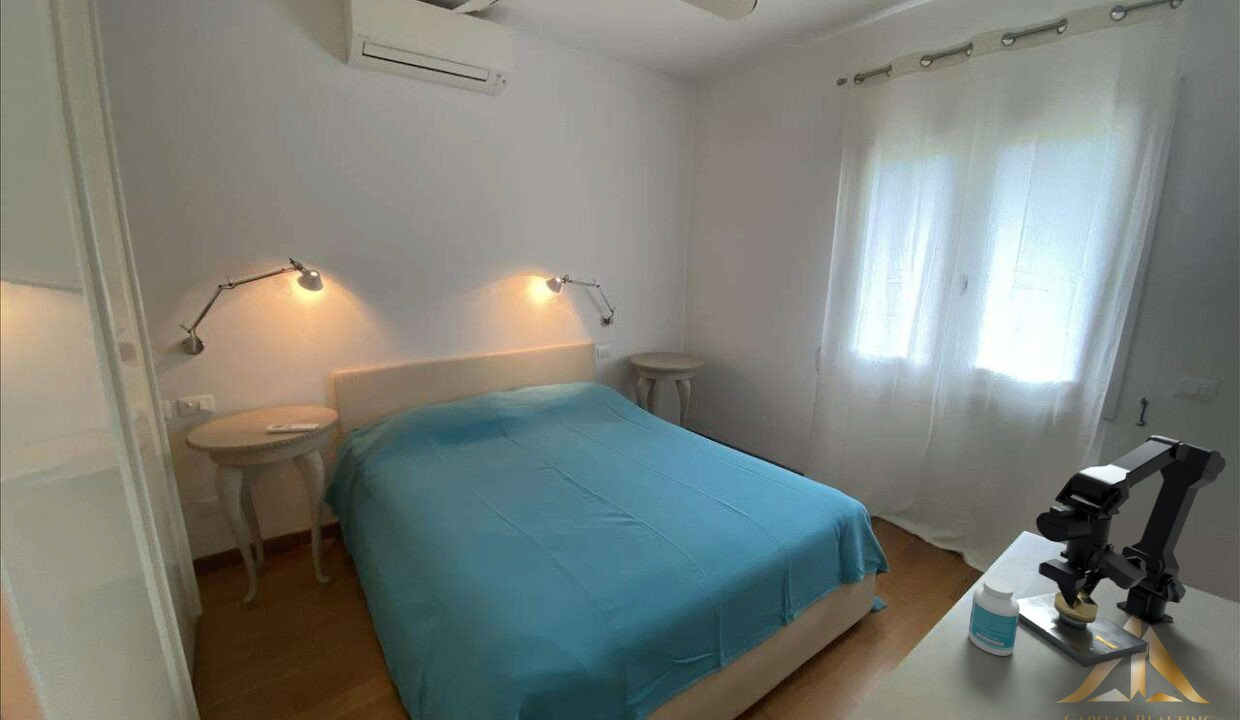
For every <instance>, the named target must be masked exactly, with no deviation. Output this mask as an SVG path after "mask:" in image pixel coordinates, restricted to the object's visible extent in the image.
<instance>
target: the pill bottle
mask: <svg viewBox="0 0 1240 720" xmlns="http://www.w3.org/2000/svg"><path fill="white" fill-rule="evenodd" d="M982 585H983V586H980V587H978V588H976V589H975V590H974V592H973V594H972V595H973V598H972V605H971V612H970V616H969V626H968V636H969V639H970V640H971V642H972V643H973V644H974V645H975V646H976V647H977V648H979V649H980V650H982V651H984V652H986V653H988V654H991V655H994V656H995V655H996V656H998V657H999V656H1001V657H1002V656H1003V657H1005V656H1009V655H1012V654H1013V652H1014V649H1015V644H1016V643H1015V642H1016V636H1017V630H1018V625H1019V624H1018V623H1019V621H1018V618H1019V611H1020V606H1019V604H1018V602H1017V601H1016V600H1017V599H1016V598H1015V597H1014V588H1013V587H1012V586H1011V585H1010V584H1008V583H1007V582H1005V581H1003V580H1000V579H996V578H992V577H991V578H985V579H984V581H983V584H982Z"/></svg>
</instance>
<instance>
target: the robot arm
mask: <svg viewBox="0 0 1240 720" xmlns="http://www.w3.org/2000/svg"><path fill="white" fill-rule="evenodd" d="M1226 463H1227V461H1226V459H1225V458H1224V457H1222V456H1221V453H1220V451H1218V450H1216V449H1212V448H1208V447H1205V446H1200V445H1197V444H1192V443H1189V442H1185V441H1182V440H1178V439H1174V438H1169V437H1166V436H1163V435H1150V436H1148V437H1147V439H1146V441H1145V442H1144V443H1143V444H1141V445H1139V446H1138V447H1136V448H1134V449H1133V450H1131V451H1129V452H1127V453H1126V454H1124V455H1122V456H1121V457H1119V458H1118V459H1116V460H1114V461H1112V462H1111V463H1109V464H1108V465H1104V466H1103V465H1102V466H1100V465H1099V466H1090V467H1088V468H1085V469H1082V470H1080V471H1078V472H1076V473H1075V474H1073V475H1072V476H1071V477H1070V478H1069V480H1068V481H1067V482H1066V483H1065V485H1064V487H1063V488H1062V489H1061V490H1060V491H1059V493H1058V494H1057V495H1056V497H1055V498H1054V501H1055V502H1057V503H1060V504H1062V505H1060V506H1058V505H1057V506H1056V505H1054V506H1050V507H1049V511H1045V512H1042V513H1040V514H1038V516H1037V517H1036V520H1035V525H1036V528H1037V530H1038V532H1039V533H1040V534H1041V536H1042V537H1044V538H1045V539H1047V540H1048V541H1050V542H1052V543H1061V542H1066V545H1065V547H1066V548H1065V550H1062V551H1060V552H1059V553H1060V554H1059V556H1060V557H1062V558H1064V559H1066V560H1067V561H1065V562H1064V561H1062V560H1060V559H1057V558H1052V559H1048V560H1046V561H1043V562H1041V563H1038V573H1039V575H1041V576H1043V577H1045V578H1047V579H1049V580H1051V581H1054V582H1056V584H1057V586H1058V587H1059V589H1060V590H1059V589H1058V590H1059V591H1061V593H1062V595H1063V597H1064V600H1065V602H1066V603H1067V604H1068V605H1070V606H1073V605H1074V603H1075V601H1076V599H1077V597H1078V594H1079V592H1080V589H1081V588H1082V589H1083V590H1084V591H1085V592H1086V593H1087V594H1088V595H1089V596H1090V597H1091V595H1092V593H1093V592H1094V590H1095V589H1096V588H1097V586H1098V584H1100V582H1101V580H1103V579H1109V580H1111V581H1112V582H1113V584H1115V585H1116V586H1117V587H1118V588H1120V589H1122V590H1124V591H1128V592H1127V596H1126V600H1125V601H1120V602H1116V606H1117V607H1119V608H1120V609H1122V610H1124V611H1126V612H1128V613H1129V614H1131V615H1133V616H1135V617H1136V618H1139V619H1140V620H1141V621H1143V622H1145V623H1147V624H1149V625H1152V626H1154V625H1158V624H1164V623H1167V622H1172V621H1173V620H1174V617H1172V615H1169V614H1167V613H1165V612H1166V609H1167V606H1168V603H1170V602H1171V603H1175V604H1180V603H1181V600H1182V599H1183V598H1184V597H1185V595H1186V592H1187V589H1186V588H1185V587H1184V585H1183V584H1182V583H1181V581H1180V580H1179V578H1178V576H1179V572H1180V566H1179V563H1178V561H1177V559H1176V556H1175V554H1174V551H1175V549H1176V546H1177V544H1178V541H1179V538H1180V536H1181V533H1182V530H1183V528H1184V526H1185V523H1186V521H1187V519H1188V516H1189V513H1190V511H1191V508H1192V506H1193V504H1194V501H1195V498H1196V496H1197V493H1198V491H1199V490H1200V489H1203V488H1204V487H1205V486H1208V485H1210V484H1211V483H1214V482H1215V481H1216V480H1217V477H1218V476H1219V474H1220V473H1222V472H1223V471H1224V469H1225V467H1226ZM1158 471H1159V472H1160V474H1161V478H1162V479H1163V481H1162V484H1161V486H1160V489H1159V492H1158V494H1157V497H1156V499H1155V502H1154V504H1153V507H1152V509H1151V512H1150V515H1149V517H1148V520H1147V522H1146V525H1145V528H1144V531H1143V533H1142V535H1141V538H1140V540H1139V541H1138V542H1137V543H1134V544H1132V545H1130V546H1129V545H1126V546H1125V547H1123V548H1122V551H1121V553H1119V552H1117V551H1114V547H1115V546H1114V545H1113V542H1112V541H1109V537H1110V531H1111V524H1112V520H1113V516H1115V515H1119V514H1120V513H1121V512H1120V510H1119V508H1120V507H1121V506H1122V505H1123V504H1124V503H1125V502H1126V501H1128V500H1129V499H1130V495H1131V493H1130V490H1131V488H1133V487H1134V486H1136V485H1138V484H1139V483H1140V482H1142V481H1144V480H1146V479H1147V478H1148V477H1150V476H1152V475H1153V474H1155V473H1156V472H1158ZM1072 496H1073V497H1072ZM1074 497H1076V498H1074ZM1078 499H1081V500H1082V501H1081V500H1078ZM1083 501H1085V502H1083ZM1086 502H1088V503H1086Z"/></svg>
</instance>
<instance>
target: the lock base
mask: <svg viewBox="0 0 1240 720" xmlns="http://www.w3.org/2000/svg"><path fill="white" fill-rule="evenodd" d="M1058 592H1061V591H1060V590H1059V591H1054V592H1049V593H1044V594H1041V595H1034V596H1030V597H1026V598H1019V599H1016V601H1017V602H1018V604H1019V606H1020V611H1019V618H1018V623H1021V624H1022V625H1024V626H1025V627H1027V628H1028V629H1029V630H1031V631H1032V632H1034V633H1035V634H1037V635H1038V636H1040V637H1041V638H1042V639H1044V640H1045V641H1046V642H1048V643H1050V644H1051V645H1052V646H1054V647H1055V648H1057V649H1059V650H1060V651H1061V652H1062V653H1064V654H1065V655H1067V656H1068V657H1070V658H1071V659H1073V660H1074V661H1075V662H1076V663H1078V664H1080V666H1081V665H1082V667H1085V668H1087V667H1091V666H1095V665H1099V664H1103V663H1107V662H1110V661H1115V660H1119V659H1122V657H1123V658H1126V657H1125V656H1127V657H1130V656H1129V655H1131V656H1134V655H1133V654H1135V655H1137V653H1139V654H1143V653H1145V652H1147V650H1148V646H1149V642H1147V641H1145V640H1144V639H1142V638H1140V637H1139V636H1138V635H1136V634H1133V633H1132V632H1130V631H1128V630H1127V629H1125V628H1124V627H1121V626H1120V625H1118V624H1117V623H1115V622H1113V621H1111V620H1110V619H1109V618H1107V617H1105V616H1103V615H1101V614H1099V612H1097V615H1096V618H1095V621H1094V622H1093V623H1082V622H1078V621H1074V620H1072V619H1069V618H1067V617H1065V616H1063V615H1062V614H1060V613H1059V612H1058V611H1057V610H1056V609H1055V608H1054V600H1055V595H1056V593H1058ZM1142 652H1143V653H1142Z"/></svg>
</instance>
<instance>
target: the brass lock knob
mask: <svg viewBox="0 0 1240 720" xmlns="http://www.w3.org/2000/svg"><path fill="white" fill-rule="evenodd" d="M1056 587H1057V590H1059V591H1060V589H1059V587H1058V585H1057V586H1056ZM1057 592H1058V591H1057ZM1054 608H1055V609H1056V610H1057V611H1058V612H1059V613H1060V614H1062V615H1063V616H1065V617H1067V618H1069V619H1072V620H1074V621H1078V622H1082V623H1093V622H1094V621H1095V618H1096V615H1097V613H1098V611H1099V604H1097V602H1096V601H1094V600H1093V598H1092V597H1091V595H1090V596H1089V595H1088V594H1087V593H1086V592H1085V591H1084V590H1083V589H1082V588H1081V589H1080V592H1079V594H1078V597H1077V599H1076V601H1075V603H1074V605H1073V606H1070V605H1068V604H1067V603H1066V602H1065V600H1064V597H1063V595H1062V593H1061V592H1058V593H1056V595H1055V600H1054Z"/></svg>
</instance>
